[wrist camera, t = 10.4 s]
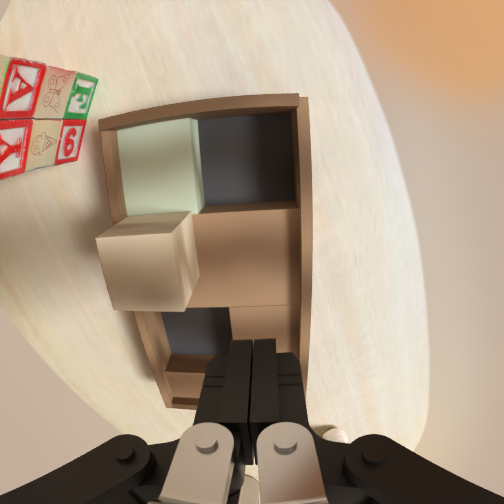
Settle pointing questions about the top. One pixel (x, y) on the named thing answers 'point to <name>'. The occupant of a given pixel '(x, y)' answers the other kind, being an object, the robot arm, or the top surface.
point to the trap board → (222, 224)
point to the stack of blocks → (40, 114)
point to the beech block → (150, 262)
